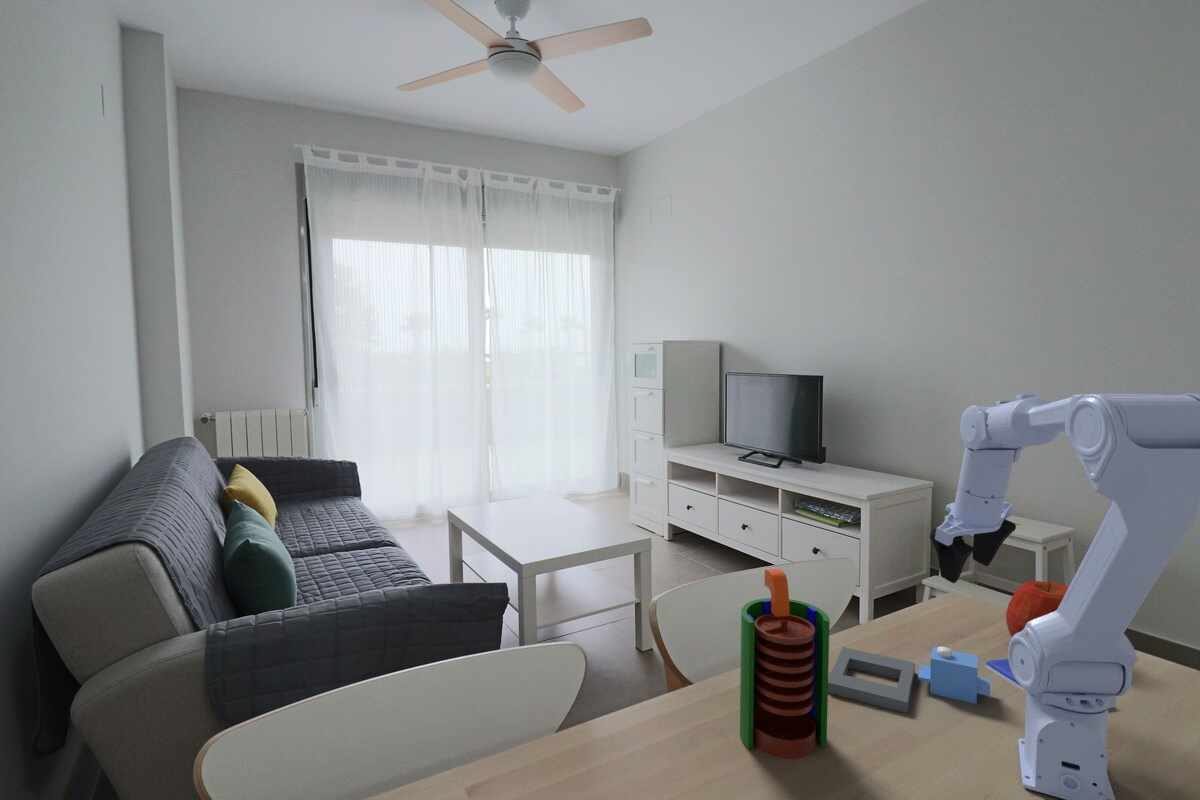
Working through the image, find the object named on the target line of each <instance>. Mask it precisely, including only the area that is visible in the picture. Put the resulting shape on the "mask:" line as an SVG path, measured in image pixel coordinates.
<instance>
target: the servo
mask: <svg viewBox="0 0 1200 800" xmlns="http://www.w3.org/2000/svg"><path fill="white" fill-rule="evenodd" d="M978 660H979V659H978V655H975V654H969V653H966V652H965V653H964V652H960V651H957V650H956V651H955V650H952V649H951V648H950V647H946V646H937V647H935V646H932V649H931V655H930V666H929V665H925V664H924V665H923V664H920V665H919V670H918V675H917V680H919V681H921V682H922V681H923V682H929V694H932V693H933V694H932V695H936V694H937V695H936V696H940V695H941V697H944V696H945V698H948V697H949V699H953V698H954V699H953V700H957V699H958V700H957V701H961V700H963V701H962V702H965V701H967V702H966V703H969V702H971V704H974V703H975V704H974V705H977V702H978V699H977V698H978V694H979V695H984V696H988V697H990V696H991V679H990V678H989V679H988V678H985V677H979V676H978V673H979V672H978V671H979V670H978V668H979V667H978V663H979V661H978Z"/></svg>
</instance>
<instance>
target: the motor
mask: <svg viewBox="0 0 1200 800" xmlns="http://www.w3.org/2000/svg"><path fill="white" fill-rule="evenodd" d="M764 586H765V587H767V589H769V592H770V597H766V598H764V597H763V598H758V599H754V600H752V601H749V602H747V603H745V604H744V605H743V606H742V608H741V611H740V615H741V616H740V679H739V680H740V687H739V688H740V690H739V694H740V695H739V737H740V740H741V742H742V743H743V745H744V746H745V748H746V749H747V750H750V749H753V747H754V745H755V747H757V748H758V749H759V750H760V751H762V752H764V753H766V754H768V755H769V756H772V757H776V758H780V759H787V760H795V759H802V758H806V757H807V756H810V755H811V754H812V753H813V752H814V751H815V748H816V743H817V742H816V739H819V740H818V741H819V743H820V747H823V748H827V744H828V743H827V741H828V739H827V737H828V703H829V702H828V701H829V697H828V696H829V695H828V694H829V693H828V679H829V665H830V664H829V663H830V662H829V660H830V654H829V653H830V622H831V621H830V618H829V615H828V614H827V613H826V612H825V611H824V610H822V609H821V608H819V607H818V606H815V605H812V604H810V603H807V602H804V601H801V600H797V599H792V598H790V597H789V596H790V593H789V583H788V578H787V575H786V573H785V572H784V571H783V570H782V569H779V568H769V569H768V568H767V569H764Z"/></svg>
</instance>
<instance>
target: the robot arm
mask: <svg viewBox="0 0 1200 800" xmlns="http://www.w3.org/2000/svg"><path fill="white" fill-rule="evenodd" d="M1015 399H1016V400H1014V401H1010V400H998V401H996V402H995V405H993V406H978V405H973V404H972V405H970V406H969V407H967V408H966V409H965V410H964V411H963V412H962V415H961V418H960V424H959V426H960V427H959V430H960V431H959V432H960V436H961V437H960V438H961V440H962V442H963V444H964V445H965V446H964V453H963V458H962V462H961V463H962V464H961V468H960V473H959V478H958V484H957V490H956V494H955V500H954V502H951V503H948V504H946V506H945V510H946V511H947V512H949V513H948V514H947V517H946V518H945V519H944V521H943V522H942V524H940V525H939V526H937V527H936V528H933V529H931V531H930V533H929V538H930V540H931V542H932V545H933V546H934V549H935V552H936V554H937V560H938V566H939V573H940V577H941V578H943V579H944V580H947V581H948V582H950V583H951V584H955V583H957V582H958V581H959V579H960V577H961V574H962V571H963V569H964V565H965V563H966V561H967V559H968V558H969V557H970V556H971V554H972V560H974V561H975V562H976V563H977V562H978V563H979V564H981V565H983V566H985V567H988V566H989V565H990V564H991V563H992V561H993V559H994V557H996V554H997V552H999V549H1000V547H1001V546H1002V545H1003V543H1004V541H1006V540H1007V538H1008V537H1009V536H1010V535H1011V534H1012V533H1013V532H1015V531H1016V528H1017V525H1016V524H1015V522H1013V521H1010V520H1008V519H1009V518H1010V517H1012V514H1013V513H1012V512H1013V509H1014V504H1012V503H1010V502H1007V501H1005V500H1006V495H1007V491H1008V486H1009V482H1010V477H1011V473H1012V472H1011V471H1012V467H1013V464H1014V463H1016V462H1018V461H1019V459H1020V455H1021V453H1022V451H1023V450H1024V449H1025V448H1026V447H1035V446H1042V445H1047V444H1049V443H1051V442H1053V441H1054V440H1055V439H1056V438H1057V437H1058V436H1059V434H1060V433H1061V432H1065V437H1066V438H1067V439H1069V440H1070V443H1071V445H1072V447H1073V448H1074V451H1075V453H1076V455H1077V457H1078V459H1079V461H1080V463H1081V466H1082V467H1083V469H1084V470H1083V471H1085V473H1086V476H1087V477H1088V480H1089V482H1090V484H1091V486H1092V487H1093V490H1094V492H1096V493H1098V494H1100V495H1101V496H1104V497H1106V498H1107V499H1110V500H1111V501H1112V503H1111V505H1110V508H1109V509H1108V512H1107V513H1106V515H1105V517H1104V519H1103V521H1102V522H1101V525H1100V526H1099V528H1098V530H1097V531H1096V532H1097V533H1096V534H1095V536H1094V538H1093V540H1092V542H1091V544H1090V545H1089V547H1088V550H1087V551H1086V553H1085V556H1084V557H1083V560H1081V563H1080V565H1079V567H1078V569H1077V571H1076V572H1075V574H1074V577H1073V578H1072V580H1071V583H1070V584H1069V586H1068V590H1067V592H1066V594H1065V596H1064V598H1063V599H1062V601H1061V603H1060V605H1059V607H1058V609H1057V610H1056V611H1054V612H1052V613H1049V614H1047V615H1044V616H1041V617H1038V618H1036V619H1033V620H1031V621H1029V622H1027V624H1026V626H1025V628H1024V629H1023V630H1022V631H1021V632H1018V633H1016V634H1014V636H1013V637H1011V640H1010V641H1009V644H1008V649H1007V657H1008V658H1007V659H1008V660H1009V664H1010V668H1011V671H1012V673H1013V675H1014V677H1015V679H1016V680H1017V682H1018V683H1019V684H1020V685H1021V686H1022V687H1023V688H1024V689H1025V690H1026V692H1025V695H1026V696H1025V720H1024V721H1025V723H1024V738H1022V737H1019V738H1018V739H1017V744H1018V753H1019V762H1020V764H1019V765H1020V772H1021V774H1020V775H1021V780H1022V781H1021V782H1022V786H1023V787H1024V788H1026V789H1028V790H1031V791H1034V792H1037V793H1042V794H1045V795H1049V796H1051V797H1056V798H1059V799H1063V800H1116V797H1115V794H1114V791H1113V789H1112V785H1111V781H1110V778H1109V774H1108V759H1109V755H1108V754H1109V753H1108V749H1107V739H1108V738H1107V736H1108V719H1109V717H1108V715H1109V708H1108V707H1113V708H1114V707H1116V706H1117V697H1123V696H1125V695H1126V694H1127V693H1128V691H1129V690H1130V688H1131V685H1132V682H1133V681H1132V680H1133V668H1134V666H1135V664H1136V662H1138V660H1139V657H1138V655H1137V652H1136V651H1135V648H1134V646H1133V645H1132V642H1131V641H1130V640H1129V638H1128V637H1127V635H1126V634H1125V632H1126V630H1127V629H1128V627H1129V625H1130V624H1131V622H1132V621H1133V619H1134V617H1135V615H1136V614H1137V612H1138V611H1139V609H1140V608H1141V606H1142V604H1143V603H1144V602H1145V599H1146V598H1147V596H1149V593H1150V591H1151V590H1152V588H1153V587H1154V585H1155V584H1156V582H1157V581H1158V579H1159V577H1161V574H1162V572H1163V571H1164V569H1165V568H1166V566H1167V565H1168V563H1169V562H1170V559H1172V557H1173V556H1174V555H1173V554H1174V553H1175V552H1176V550H1177V549H1178V548H1179V545H1180V544H1181V542H1182V540H1183V538H1184V537H1185V536H1186V534H1187V533H1188V530H1190V528H1191V526H1192V524H1193V523H1194V521H1195V519H1196V516H1197V514H1198V512H1199V511H1198V510H1199V506H1200V394H1197V393H1180V394H1174V395H1169V394H1163V393H1162V394H1159V393H1158V394H1157V393H1155V394H1153V393H1152V394H1151V393H1143V394H1142V393H1087V394H1086V393H1080V394H1073V395H1072V396H1071V397H1067V398H1064V399H1059V400H1055V401H1053V402H1050V401H1048V400H1046V399H1045V398H1041V397H1036V395H1035V394H1034V393H1022V394H1017V395H1015ZM1007 518H1008V519H1007ZM971 535H973V542H972V543H973V544H972V545H970V544H968V543H966V542H965V539H963V538H964V536H971Z"/></svg>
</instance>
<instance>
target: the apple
mask: <svg viewBox="0 0 1200 800" xmlns="http://www.w3.org/2000/svg"><path fill="white" fill-rule="evenodd" d="M1068 588H1069V586H1068V587H1067V586H1065V585H1063V584H1061V583H1060V584H1059V583H1056V582H1050V581H1048V582H1047V581H1041V580H1030V581H1027V582H1025V583H1022V584H1021V585H1020V586H1019V587H1018V588H1017V589H1016V590H1015V592H1014V593H1013V595H1012V597H1011V598H1010V600H1009V602H1008V604H1007V608H1006V611H1005V619H1006V621H1005V623H1006V626H1007V630H1008V632H1009V635H1010V637H1011V638H1012V637H1013V636H1014V634H1016V633H1018V632H1021V631H1022V630H1023V629H1024V628H1025V626H1026V624H1027V622H1029V621H1031V620H1033V619H1036V618H1038V617H1041V616H1044V615H1047V614H1049V613H1052V612H1054V611H1056V610H1057V609H1058V607H1059V605H1060V603H1061V601H1062V599H1063V598H1064V596H1065V594H1066V592H1067V590H1068Z"/></svg>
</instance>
